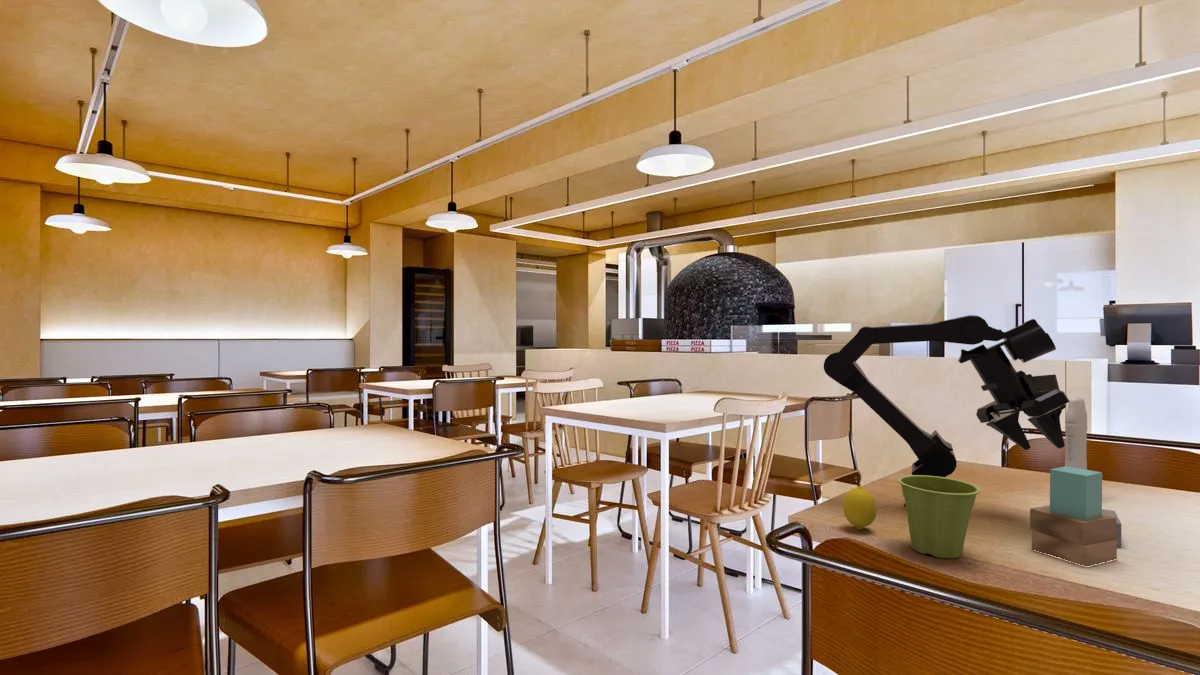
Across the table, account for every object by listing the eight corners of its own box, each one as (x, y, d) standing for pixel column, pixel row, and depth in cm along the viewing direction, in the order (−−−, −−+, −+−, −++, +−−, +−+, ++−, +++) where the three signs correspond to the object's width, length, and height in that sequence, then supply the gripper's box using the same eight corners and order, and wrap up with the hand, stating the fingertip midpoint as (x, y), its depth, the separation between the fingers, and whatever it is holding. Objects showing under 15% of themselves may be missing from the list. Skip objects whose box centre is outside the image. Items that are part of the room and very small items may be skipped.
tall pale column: (1071, 490, 136) (1072, 394, 136) (1094, 494, 133) (1095, 396, 133) (1056, 498, 130) (1057, 397, 130) (1079, 502, 126) (1080, 399, 126)
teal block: (1049, 511, 97) (1050, 469, 97) (1065, 507, 100) (1066, 466, 100) (1086, 520, 93) (1086, 475, 93) (1101, 515, 95) (1102, 472, 95)
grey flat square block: (1053, 536, 105) (1054, 514, 105) (1051, 523, 113) (1052, 502, 112) (1121, 547, 100) (1121, 523, 100) (1114, 532, 107) (1114, 510, 107)
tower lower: (1031, 551, 99) (1031, 530, 99) (1060, 544, 102) (1061, 524, 102) (1087, 569, 91) (1087, 546, 91) (1116, 561, 95) (1116, 539, 94)
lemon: (874, 526, 110) (874, 483, 110) (877, 536, 105) (878, 491, 105) (842, 523, 112) (842, 481, 112) (844, 532, 107) (844, 488, 107)
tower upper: (1029, 529, 99) (1030, 508, 99) (1062, 524, 102) (1062, 503, 102) (1082, 545, 92) (1082, 523, 92) (1116, 539, 95) (1116, 517, 94)
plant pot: (946, 570, 90) (946, 496, 90) (881, 544, 101) (881, 478, 101) (996, 558, 95) (997, 488, 95) (929, 535, 106) (930, 472, 106)
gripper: (1069, 347, 106) (1121, 427, 103) (1004, 364, 124) (1047, 433, 121) (1014, 373, 106) (1065, 454, 102) (957, 387, 124) (999, 456, 120)
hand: (1044, 448), depth 111 cm, fingers open, 9 cm apart
